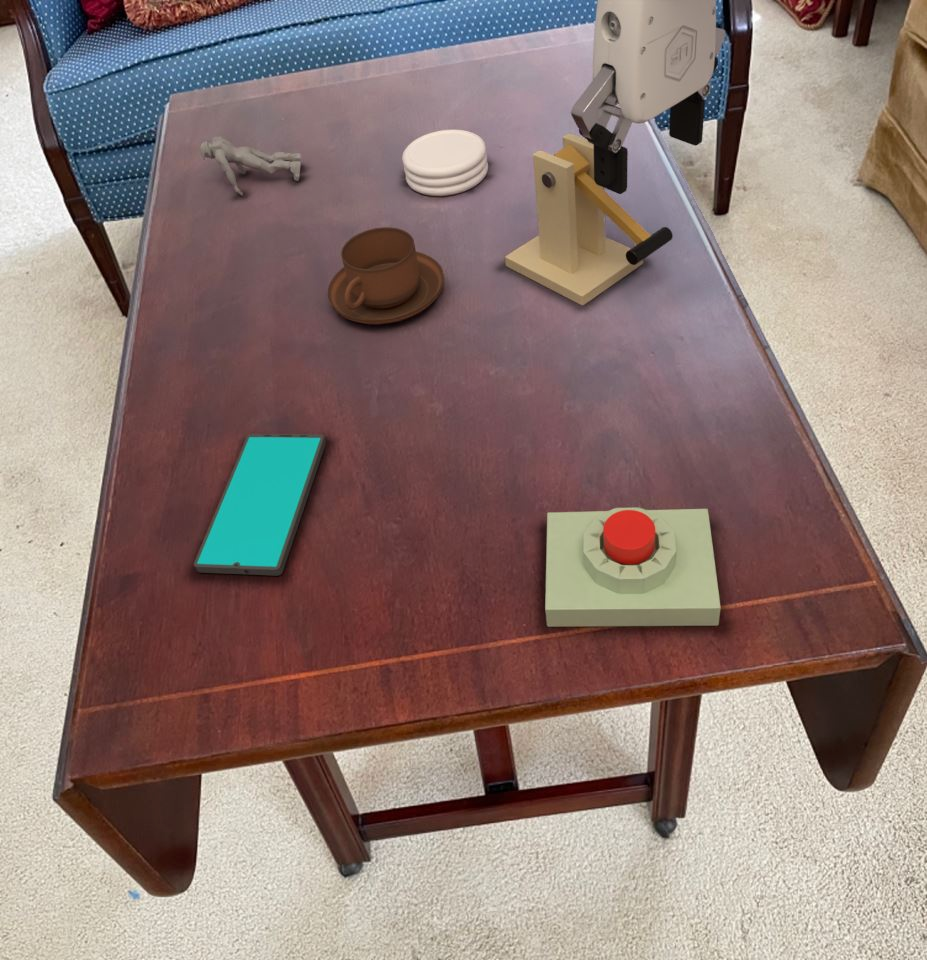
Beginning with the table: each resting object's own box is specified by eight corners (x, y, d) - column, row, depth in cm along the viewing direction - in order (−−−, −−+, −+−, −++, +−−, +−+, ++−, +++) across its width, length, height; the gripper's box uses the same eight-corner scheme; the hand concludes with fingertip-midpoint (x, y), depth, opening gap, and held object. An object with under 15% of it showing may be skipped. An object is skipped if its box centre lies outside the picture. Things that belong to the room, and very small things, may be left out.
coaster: (420, 153, 117) (416, 127, 115) (497, 155, 115) (494, 128, 112) (395, 196, 111) (390, 169, 108) (476, 199, 108) (472, 171, 106)
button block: (706, 527, 72) (709, 492, 69) (718, 625, 66) (722, 592, 63) (548, 530, 74) (545, 496, 71) (547, 627, 67) (543, 594, 65)
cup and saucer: (432, 337, 92) (422, 285, 87) (317, 333, 95) (301, 283, 90) (457, 265, 100) (449, 214, 95) (350, 264, 102) (337, 214, 98)
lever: (667, 246, 89) (677, 230, 87) (632, 271, 87) (641, 255, 85) (573, 155, 91) (580, 137, 89) (537, 177, 90) (543, 159, 87)
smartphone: (325, 434, 83) (278, 569, 73) (327, 440, 84) (281, 576, 74) (246, 433, 84) (191, 566, 74) (249, 439, 85) (194, 572, 75)
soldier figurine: (297, 180, 121) (201, 164, 118) (301, 142, 118) (203, 124, 115) (296, 206, 117) (196, 190, 114) (300, 166, 113) (198, 149, 110)
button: (653, 524, 68) (653, 508, 67) (656, 564, 66) (657, 548, 64) (603, 525, 68) (602, 510, 67) (604, 565, 66) (603, 549, 65)
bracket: (643, 263, 96) (645, 146, 86) (582, 306, 92) (577, 188, 83) (565, 227, 102) (559, 114, 93) (505, 266, 99) (493, 152, 89)
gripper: (613, 1, 63) (613, 223, 76) (770, -82, 70) (747, 135, 82) (534, -21, 67) (547, 193, 80) (690, -97, 74) (679, 111, 87)
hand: (648, 163), depth 81 cm, fingers open, 9 cm apart
